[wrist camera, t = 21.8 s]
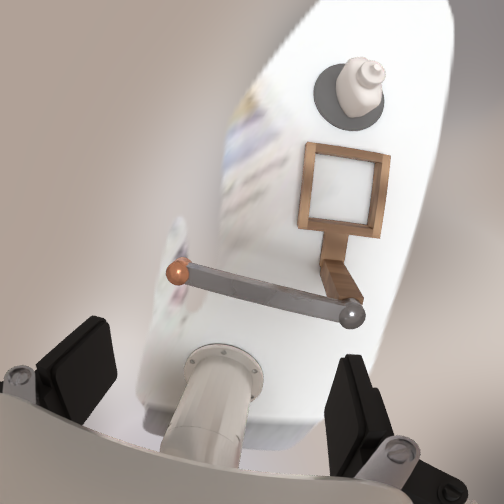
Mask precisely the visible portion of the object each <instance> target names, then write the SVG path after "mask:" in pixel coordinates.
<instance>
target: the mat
mask: <svg viewBox="0 0 504 504" xmlns="http://www.w3.org/2000/svg"><path fill="white" fill-rule="evenodd" d="M344 66H345V64H337V65H333V66H331V67H329V68H327V69H326V70H324V71H323V72H322V73H321V74H320V76H319V77H318V79H317V81H316V84H315V87H314V100H315V104H316V106H317V109H318V110H319V112H320V114H321V115H322V116H323V117H324V118H325V119H326V120H327V121H328V122H329V123H330V124H332V125H334V126H336V127H338V128H340V129H343V130H348V131H358V130H363V129H366V128H368V127H370V126H371V125H373V124H374V123H375V122H376V121H377V120H378V119H379V118H380V116H381V114H382V112H383V108H384V95H383V91H382V98H381V102H380V104H379V105H378V106H377V107H376V108H374V109H373V110H371V111H370V112H368V113H367V114H365V115H363V116H361V117H354V118H350V117H348V116H347V115H346V114H345V112H344V111H343V109H342V108H341V106H340V104H339V101H338V98H337V94H336V81H337V78H338V76H339V74H340V73H341V71H342V69H343V68H344Z"/></svg>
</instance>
